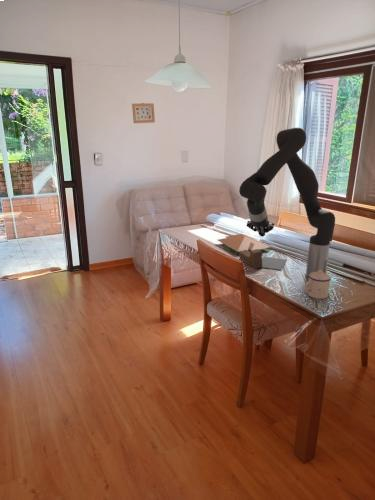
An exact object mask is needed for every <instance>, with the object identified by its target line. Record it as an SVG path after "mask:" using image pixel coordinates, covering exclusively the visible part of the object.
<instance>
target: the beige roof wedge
mask: <svg viewBox="0 0 375 500" xmlns="http://www.w3.org/2000/svg"><path fill="white" fill-rule="evenodd" d="M217 241H218V242H220V243H222V248H223V247H224V248H225V249H227V250H228V251H230V252H232V251H233V253H239V251H243V250H248V251H249V252H250V251H252V250H256V249H258V250H260V251H261V253H262V254H263V253H264V251H265V252H269V251H270V248H271V246H269V245H267V244H265V243H264V242H261V241H259V240H257V239H255V238H253V237H250V236H248V235H247V234H243V233H239V234H232V235H228V236H225V238H220V239H217Z"/></svg>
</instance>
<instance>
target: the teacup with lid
mask: <svg viewBox="0 0 375 500" xmlns="http://www.w3.org/2000/svg"><path fill="white" fill-rule="evenodd" d="M331 280H332V277H331V276H330V275H329V274H328V273H327V272H326V273H324V272H323V270H318V271H317V272H312V273H310V274H309V277H308V281H307V282H305V284H304V290H305V292H306V293H307V295H308V296H309V297H311V298H312V299H313V298H314V299H320V300H323V299H327V298H328V296H329V291H330V283H331Z"/></svg>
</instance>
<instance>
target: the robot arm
mask: <svg viewBox="0 0 375 500" xmlns="http://www.w3.org/2000/svg"><path fill="white" fill-rule="evenodd" d="M306 141H307V133H306V131H305V130H304V129H303V128H302V127H292V128H287V129H286V128H285V129H282V130H280V131H279V132H278V133H277V134H276V145H277V149H278V151H277V152H275V153H274V154H272V155H271V156H270V157H269V158H268V159H266V160H265V161H264V162H263V163H262V164H261V166H260V167H259V168H258V170H257V171H256V172H254V173H253V174H252V175H249V177H247V178H245V180H243V182H242V183H241V184H240V187H239V188H238V189H239V195H240V197H243V198H245V199H247V201H246V206H247V210H248V211H247V212H248V216H249V220H248V221H247V222H246V227H248V228H249V230H252V231H253V232H255V233H256V232H257V233H258V236H259V237H265V235H266V234H268V233H269V232H271V231H272V230H274V229H275V228H274V227H275V223H274V222H273V223H270V221H269V218H268V213H267V208H266V206H265V198H266V195H267V188H266V187H265V186H268V185H270V183H271V182H272V181H273V180H274V178H275V177H276V176H277V174H278V173H279V172H280V170H281V169H282V168H283V167H284V166H285V165H286V164H287V167H288V169H289V172H290V174H291V176H292V178H293V182H294V184H295V187H296V189H297V191H298V193H299V196H300V199H301V200H302V203H303V206H304V209H305V213H306V216H307V219H308V223H309V224H310V225H311V226H312V227H313V228H315V229H317V230H316V234H315V235H314V234H313V235H311V236H310V238H309V244H308V253H307V260H306V271H305V276H306V277H307V278H309V274H310V273H312V272H317V271H318V270H323V272H324V273H326V274H327V270H328V269H327V268H328V263H329V262H328V261H329V253H330V245H331V241H332V239H333V236H334V231H335V225H336V216H335V214H334V212H331V211H328V210H325V209H323V208H322V206H321V205H320V202H319V199H318V194H319V187H320V185H319V181H318V179H317V177H316V174H315V172H314V170H313V169H312V167H310V166H309V164H307V163H306V162H305V161H304V160H303V159H302V158H301V157H300V156H299V155H298V152H299V151H300V150H301V149H303V147H304V146H305V145H306Z"/></svg>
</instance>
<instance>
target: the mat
mask: <svg viewBox="0 0 375 500" xmlns="http://www.w3.org/2000/svg"><path fill="white" fill-rule="evenodd" d="M287 260H288V259H285V258H277V257H270V256H262V267H261V269H267V270H268V269H269V270H275V271H282V270H283V268H284V267H285V264H286V263H287V262H288V261H287Z"/></svg>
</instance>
